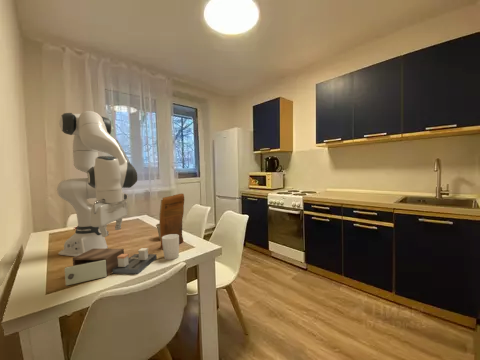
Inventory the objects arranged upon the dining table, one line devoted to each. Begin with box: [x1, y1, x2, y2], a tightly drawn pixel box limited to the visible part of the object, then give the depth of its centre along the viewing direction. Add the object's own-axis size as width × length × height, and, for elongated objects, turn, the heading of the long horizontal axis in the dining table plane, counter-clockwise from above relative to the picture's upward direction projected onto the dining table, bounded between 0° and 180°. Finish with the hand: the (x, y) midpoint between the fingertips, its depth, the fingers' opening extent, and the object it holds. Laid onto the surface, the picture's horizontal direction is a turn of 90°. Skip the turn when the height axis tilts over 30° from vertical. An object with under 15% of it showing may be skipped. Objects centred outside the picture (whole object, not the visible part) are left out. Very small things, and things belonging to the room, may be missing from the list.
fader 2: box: [137, 247, 149, 260], centre depth 101 cm, size 3×3×4 cm
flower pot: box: [155, 223, 160, 240], centre depth 139 cm, size 9×9×9 cm
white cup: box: [162, 234, 180, 260], centre depth 108 cm, size 8×8×10 cm
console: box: [111, 253, 158, 275], centre depth 100 cm, size 11×16×2 cm
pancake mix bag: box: [158, 192, 185, 250], centre depth 125 cm, size 7×19×28 cm, turn 149°
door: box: [64, 260, 108, 286], centre depth 86 cm, size 13×2×6 cm, turn 118°
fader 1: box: [117, 253, 129, 267], centre depth 95 cm, size 3×3×4 cm
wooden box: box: [72, 248, 125, 276], centre depth 97 cm, size 15×11×7 cm
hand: (112, 232), depth 88 cm, fingers open, 8 cm apart
